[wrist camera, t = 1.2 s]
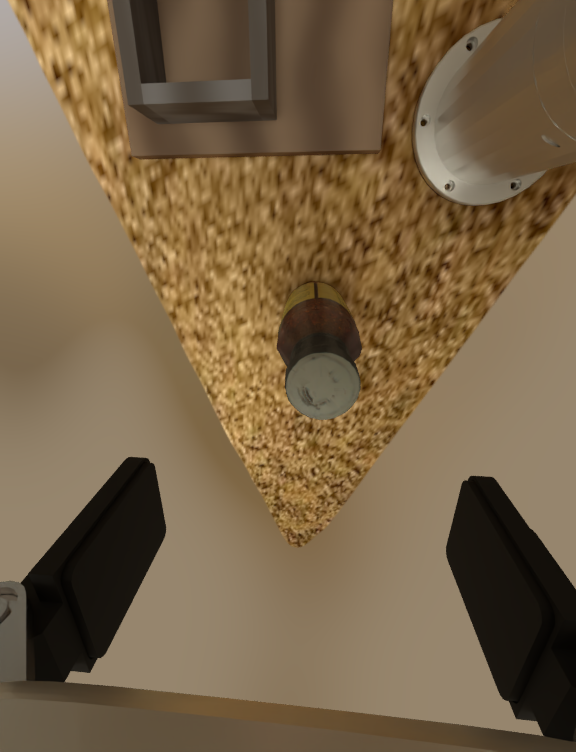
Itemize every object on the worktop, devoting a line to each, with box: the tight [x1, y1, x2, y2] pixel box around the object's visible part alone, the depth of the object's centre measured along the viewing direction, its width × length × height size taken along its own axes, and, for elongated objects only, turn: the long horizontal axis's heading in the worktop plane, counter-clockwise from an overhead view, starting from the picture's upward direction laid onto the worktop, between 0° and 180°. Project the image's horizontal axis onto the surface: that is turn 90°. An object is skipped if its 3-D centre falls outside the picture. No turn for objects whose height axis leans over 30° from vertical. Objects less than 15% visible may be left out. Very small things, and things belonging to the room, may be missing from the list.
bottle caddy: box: [107, 0, 393, 159], centre depth 25 cm, size 22×16×6 cm
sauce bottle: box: [277, 282, 362, 420], centre depth 27 cm, size 6×6×20 cm
